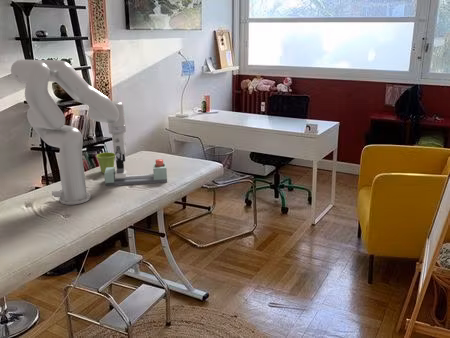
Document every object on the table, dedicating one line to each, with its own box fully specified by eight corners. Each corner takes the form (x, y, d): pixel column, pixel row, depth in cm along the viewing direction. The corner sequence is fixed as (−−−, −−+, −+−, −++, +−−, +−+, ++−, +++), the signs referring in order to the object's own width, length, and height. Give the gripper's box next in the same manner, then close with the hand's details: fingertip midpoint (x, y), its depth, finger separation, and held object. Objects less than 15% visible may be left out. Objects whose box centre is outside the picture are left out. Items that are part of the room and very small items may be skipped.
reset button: (155, 167, 207) (155, 161, 206) (155, 165, 211) (155, 159, 210) (163, 167, 208) (163, 161, 207) (163, 165, 211) (163, 158, 210)
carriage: (115, 178, 205) (113, 163, 202) (116, 174, 210) (114, 160, 208) (126, 177, 205) (124, 163, 203) (126, 173, 211) (125, 159, 209)
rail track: (105, 186, 203) (104, 171, 201) (107, 179, 212) (106, 165, 210) (167, 182, 207) (166, 167, 205) (166, 175, 216) (165, 162, 214)
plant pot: (119, 168, 227) (118, 152, 225) (113, 174, 219) (112, 157, 216) (102, 168, 228) (100, 152, 226) (95, 174, 219) (93, 157, 217)
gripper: (124, 133, 193) (128, 170, 199) (126, 124, 209) (130, 158, 215) (106, 134, 192) (111, 171, 198) (110, 125, 208) (114, 159, 214)
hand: (121, 164), depth 207 cm, fingers open, 9 cm apart
